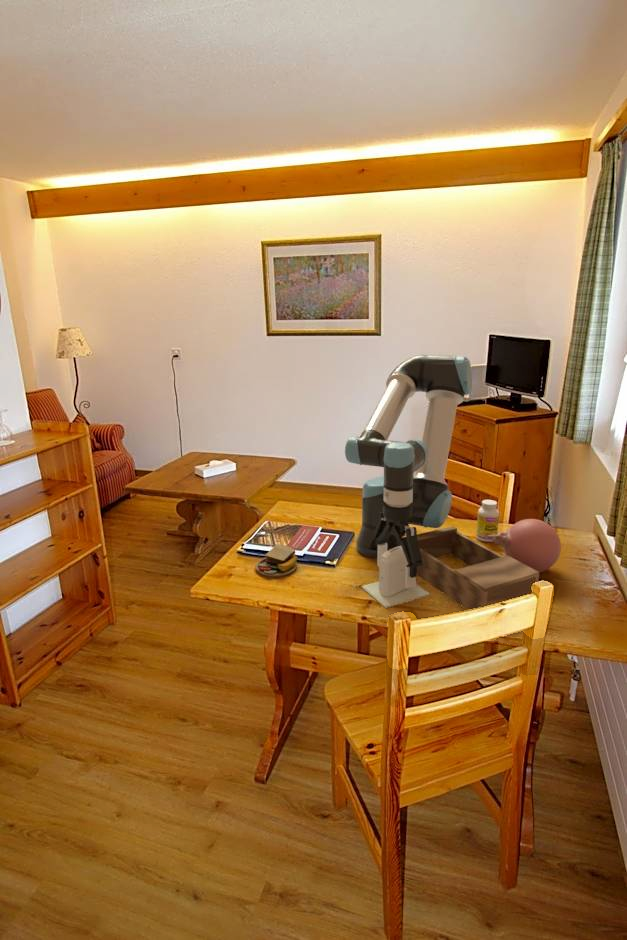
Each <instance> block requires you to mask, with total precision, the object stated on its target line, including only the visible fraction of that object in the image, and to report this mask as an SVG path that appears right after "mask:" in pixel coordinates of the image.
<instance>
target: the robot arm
mask: <svg viewBox="0 0 627 940" xmlns="http://www.w3.org/2000/svg"><path fill="white" fill-rule="evenodd" d="M472 371H473V370H472V365H471V362H470V360H469V358H468V357H467V356H459V355H454V354H453V355H441V354H440V355H437V354H436V355H435V354H418V355H414V356H412V357H409V358H407V359H405V360H404V361H403V362H401V363H400V364H399V365H397V366H396V367H395V368H394V369H393V370H392V371H391V373H390V374H389V376H388V378H387V379H386V381H385V385H386V388H385V390H384V392H383V394H382V396H381V398H380V399H379V401H378V403H377V405H376V407H375V408H374V410H373V412H372V414H371V416H370V417H369V420H368V422H367V424H366V425H365V427H364V428H363V431H362V432H361V434H360V436H357V435H356V436H351V437H349V438H348V439H347V441H346V443H345V447H344V455H345V458H346V461H347V462H349V463H351V464H354V465H360V466H362V465H363V466H370V467H379V468H383V476H378V477H373V478H370V479H368V480H367V481H365V482H364V483H363V485H362V493H361V527H360V530H359V534H358V536H357V539H356V547H355V548H356V550H357V552H358V553H359V554H361V555H363V556H364V557H365V556H366V557H368V558H371V559H376V561H377V564H376V566H377V567H378V568H379V559H380V557H381V556H382V555H383V554H384V553H385V552H387V551H388V550H390V549H392V548H395V547H398V546H402V549H403V551H404V554H405V557H406V560H407V562H408V564H407V565H406V582H405V588H407V589H408V588H411V587H415V586H416V584H417V580H416V579H417V576H418V575H417V567H418V566H421V565H423V560H422V556H421V552H420V548H419V543H418V539H417V533H418V530H417V527H416V526H418V527H423V528H426V529H427V528H430V529H431V528H433V529H440V528H441V527H442V526H443V525H444V524H445V522H446V520H447V519H448V517H449V514H450V510H451V507H452V500H453V493H452V492H451V491H450V490H449V489H448V488H449V485H448V483H447V482H446V480H445V476H446V475H445V474H446V471H447V464H448V459H449V458H448V457H449V455H450V454H449V453H450V448H451V443H452V436H453V431H454V425H455V421H456V416H457V415H456V414H457V408H458V405H460V404H462V403H463V402H464V399H465V396H467V395H471V393H472V386H473V384H472V383H473V373H472ZM418 392H421V393H425V397H426V398H427V400H428V401H429V402H428V407H427V412H426V417H425V418H426V419H425V423H424V429H423V434H422V437H421V440H420V439H410V440H407V441H395V440H389V438H390V435H391V434H392V432H393V429H394V428H395V426H396V424H397V422H398V421H399V418H400V416H401V414H402V412H403V410H404V408H405V406H406V404H407V402H408V400H409V399H410V398H412V397H413V396H414V395H415V394H416V393H418ZM410 525H412V527H411V526H410ZM411 560H412V561H411Z"/></svg>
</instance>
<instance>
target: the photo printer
mask: <svg viewBox="0 0 627 940" xmlns="http://www.w3.org/2000/svg"><path fill="white" fill-rule="evenodd" d="M411 561H412V560H411ZM407 564H408V562H407V560H406V557H405V554H404V551H403V549H402V546H398V547H395V548H392V549H390V550H388V551H387V552H385V553H384V554H383V555H382V556H381V557H380V559H379V567H378V568H379V569H378V581H379V591H380V593H381V595H383V596H386V597H387V596H391V595H394V594H396V593H398V592H400V591H402V590H404V589H407V588H405V582H406V565H407Z"/></svg>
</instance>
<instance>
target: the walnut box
mask: <svg viewBox="0 0 627 940" xmlns="http://www.w3.org/2000/svg"><path fill="white" fill-rule="evenodd" d="M417 539H418V543H419V548H420V552H421V556H422V560H423V565H421V566H418V567H417V576H418V577H420V579H422V580H424V581H425V582H427V583H428V584H430V585H431V586H432V587H434V588H435V589H437V590H438V591H439V590H440V591H439V592H441V593H442V592H443V593H442V594H444V595H445V596H446V595H447V597H448V598H449V597H450V599H451V600H452V599H453V600H452V601H453V602H455V601H456V602H457V603H456V602H455V603H456V604H458V605H459V604H460V605H459V606H461V605H462V606H463V607H464V608H463V607H462V606H461V607H462V608H463V609H465V610H466V609H473V608H478V607H484V606H487V605H491V604H495V603H499V602H502V601H506V600H509V599H512V598H516V597H520V596H523V595H527V594H531V593H532V590H531V586H532V584H533V583H535V582H538V583H539V578H540V572H538V571H536V570H534V569H532V568H531V567H529V566H527V565H525V564H523V563H521V562H519V561H517V560H516V559H514V558H512V557H510V556H508V555H507V556H506V555H505V556H503V555H501V554H500V553H498V552H496V551H494V550H492V549H490V548H488V547H487V546H485V545H483V544H481V543H479V542H478V541H475V540H474V539H472V538H470V537H468V536H466V535H465V534H463V533H461V532H459V531H458V527H456V526H454V525H452V526H447V527H443V528H437V529H435V530H431V531H430V530H429V531H426V532H422V533H418V534H417ZM450 555H451V556H453V557H454V558H456V559H457V560H459V561H461V562H462V563H464V564H466V565H467V566H464V567H460V568H458V569H453V568H452V567H450V566H449V565H447V564H445V563H444V562H442V561H441V560H440V559H439V558H442V557H447V556H450Z"/></svg>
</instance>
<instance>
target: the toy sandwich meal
mask: <svg viewBox="0 0 627 940" xmlns="http://www.w3.org/2000/svg"><path fill="white" fill-rule="evenodd" d="M295 554H296V549H294V548H293V547H290V546H287V545H286V544H284V545H283V544H274V546H273V547H272V548H271V549H270V550H269V551H268V552H267V553H265V555H264V556H265V557H263V558H261V559H259V560H258V561H257V562H256V564H255V570H256V571H257V572H258V573H259V574H261V575H262V576H266V577H269V578H270V577H271V578H272V577H273V578H275V577H283V576H288V575H290V574H292V573H293V572H294V571H295V570H296V569H297V568H298V562H297V560H298V556H297V555H295Z"/></svg>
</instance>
